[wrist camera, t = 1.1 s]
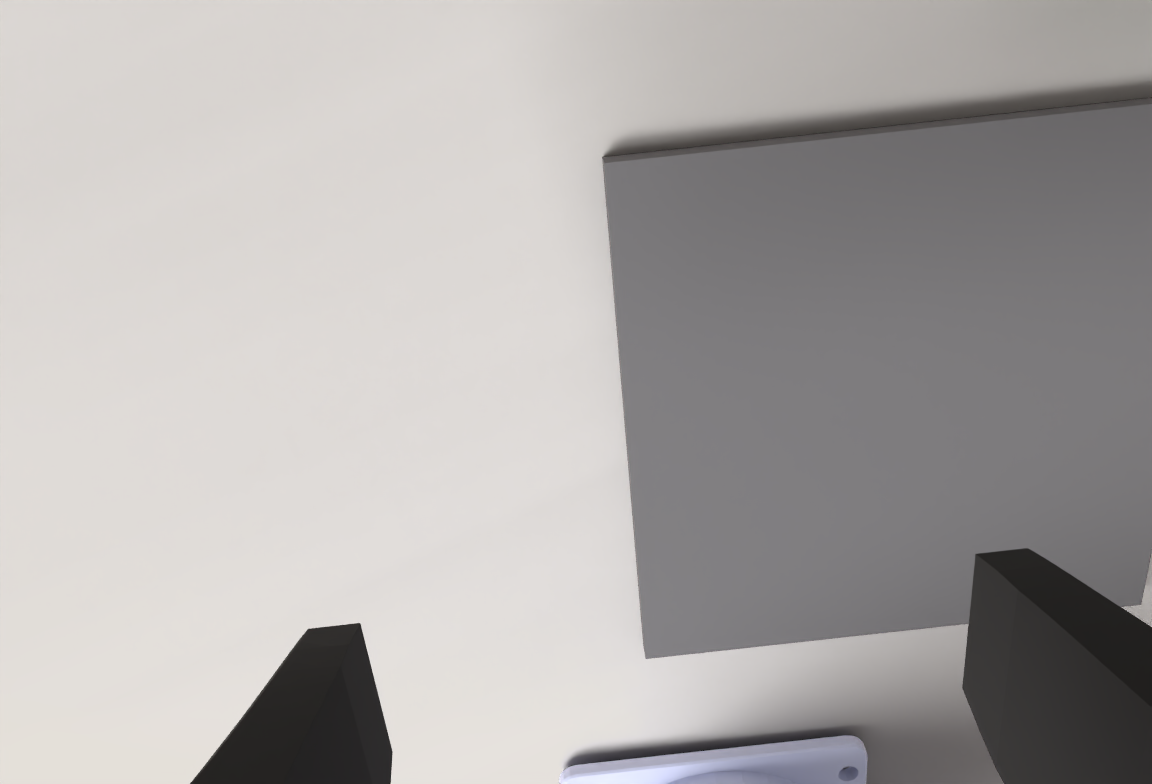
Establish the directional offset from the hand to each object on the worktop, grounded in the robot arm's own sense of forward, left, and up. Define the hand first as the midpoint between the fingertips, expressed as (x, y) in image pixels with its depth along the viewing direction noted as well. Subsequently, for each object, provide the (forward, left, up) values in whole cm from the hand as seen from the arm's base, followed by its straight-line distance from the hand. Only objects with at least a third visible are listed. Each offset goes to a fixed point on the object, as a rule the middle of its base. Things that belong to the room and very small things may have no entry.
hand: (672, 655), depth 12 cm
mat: (-2, -6, -10) cm, 12 cm away
